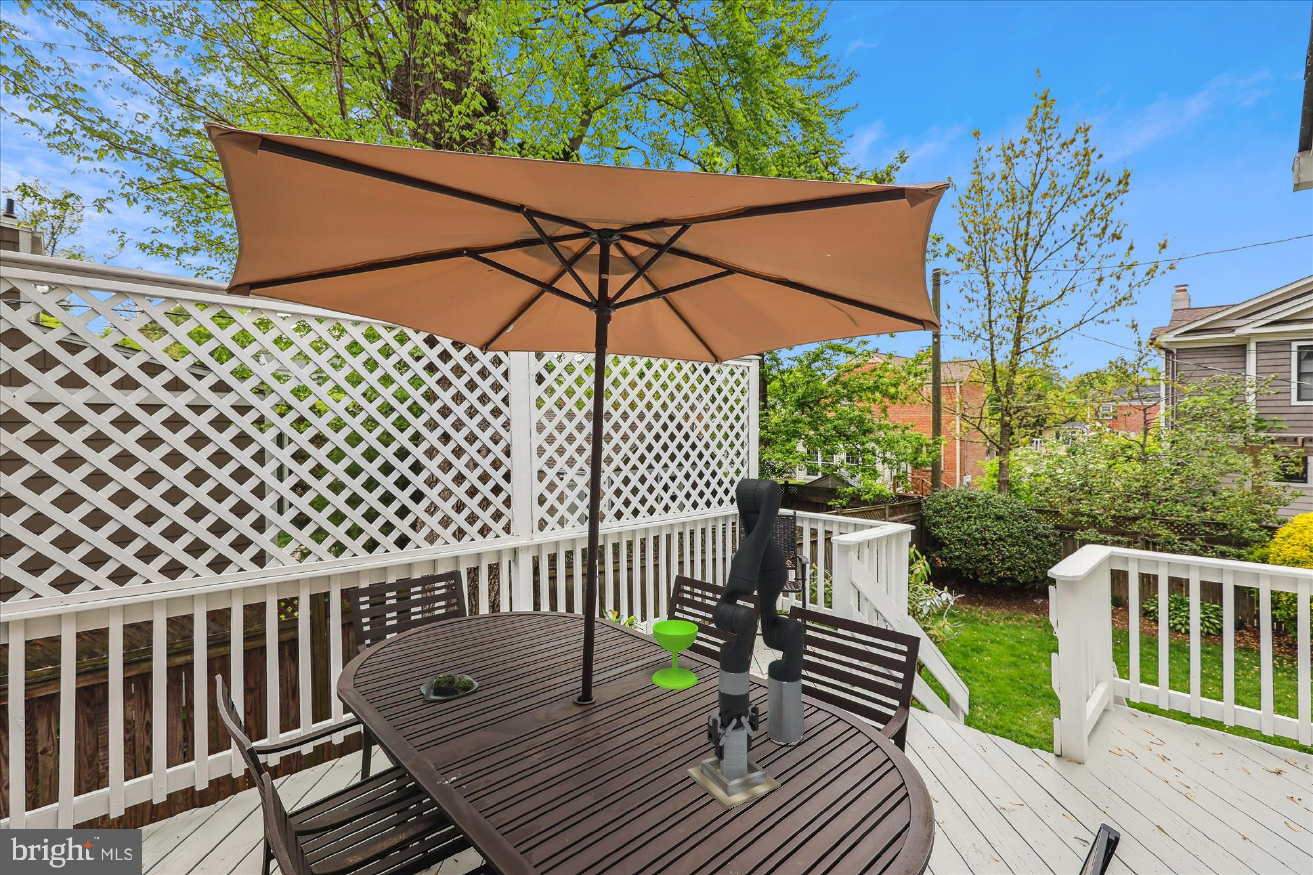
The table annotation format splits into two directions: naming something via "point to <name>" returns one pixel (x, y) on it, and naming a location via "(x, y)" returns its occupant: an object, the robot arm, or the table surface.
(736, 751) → the skincare box
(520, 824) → the table surface
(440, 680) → the salad plate
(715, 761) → the socket board
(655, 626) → the wineglass
